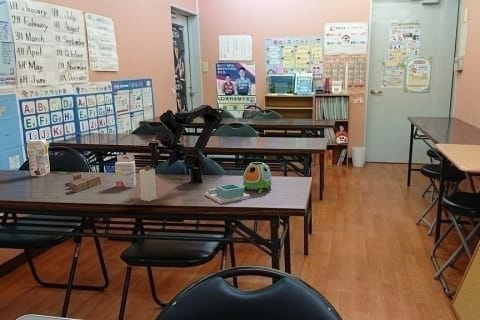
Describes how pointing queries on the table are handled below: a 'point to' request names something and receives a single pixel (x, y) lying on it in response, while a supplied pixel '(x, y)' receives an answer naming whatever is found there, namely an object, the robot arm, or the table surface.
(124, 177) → the ink cartridge box
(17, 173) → the table surface
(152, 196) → the block
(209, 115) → the robot arm
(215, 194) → the cleat stand
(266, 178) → the turtle holder
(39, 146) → the juice carton
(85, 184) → the wooden block set
